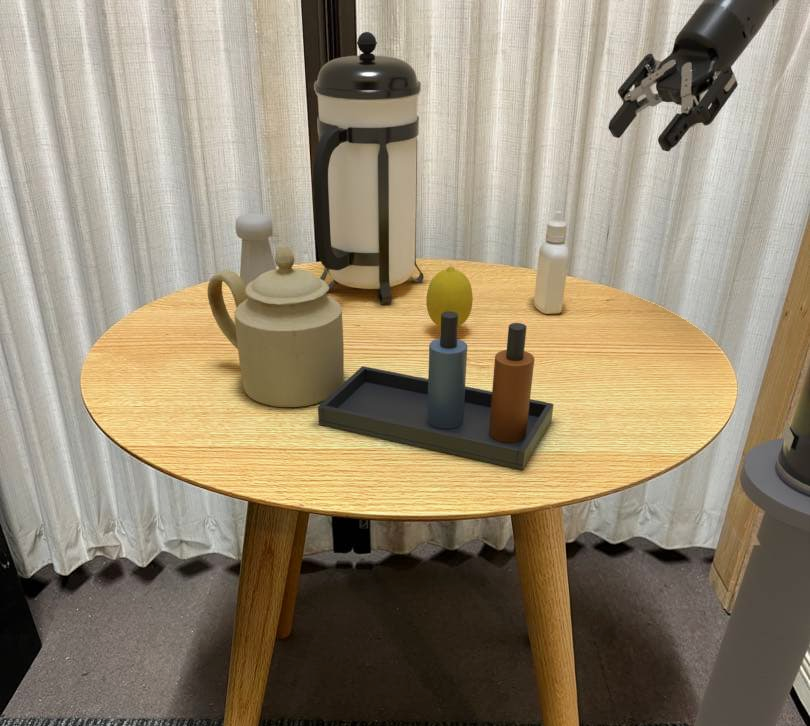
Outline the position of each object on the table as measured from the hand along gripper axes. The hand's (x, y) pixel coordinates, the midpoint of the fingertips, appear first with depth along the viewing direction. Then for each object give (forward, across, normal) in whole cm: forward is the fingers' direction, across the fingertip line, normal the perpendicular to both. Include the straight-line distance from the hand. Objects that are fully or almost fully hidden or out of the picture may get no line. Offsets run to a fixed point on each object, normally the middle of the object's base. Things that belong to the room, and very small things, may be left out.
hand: (637, 139), depth 101 cm
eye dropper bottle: (+22, 0, +6) cm, 22 cm away
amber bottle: (+39, +25, -13) cm, 48 cm away
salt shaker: (+46, -14, -19) cm, 51 cm away
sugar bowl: (+50, +2, -23) cm, 55 cm away
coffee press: (+34, -17, -6) cm, 38 cm away
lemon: (+33, 0, -6) cm, 33 cm away
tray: (+43, +18, -16) cm, 49 cm away
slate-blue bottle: (+42, +19, -16) cm, 49 cm away
